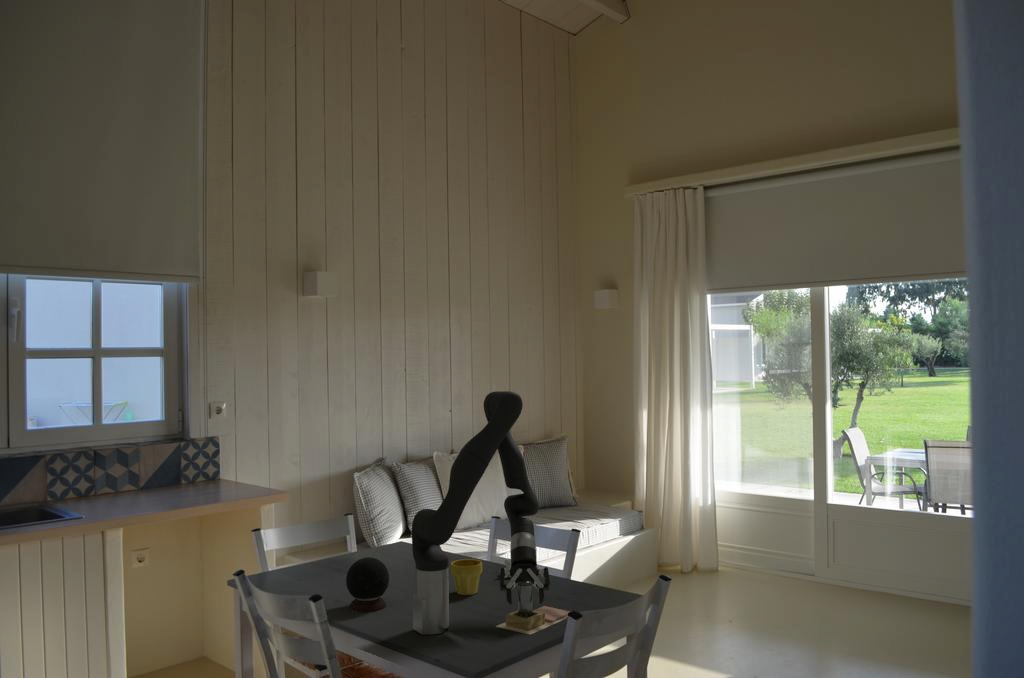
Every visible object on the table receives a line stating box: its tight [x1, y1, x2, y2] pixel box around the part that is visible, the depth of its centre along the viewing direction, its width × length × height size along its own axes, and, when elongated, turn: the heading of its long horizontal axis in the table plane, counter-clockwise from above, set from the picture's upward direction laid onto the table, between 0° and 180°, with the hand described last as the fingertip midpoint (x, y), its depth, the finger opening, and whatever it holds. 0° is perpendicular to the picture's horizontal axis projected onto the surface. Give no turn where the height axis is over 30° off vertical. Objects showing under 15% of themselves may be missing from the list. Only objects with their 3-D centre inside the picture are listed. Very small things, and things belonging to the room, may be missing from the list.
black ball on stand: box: [345, 556, 390, 613], centre depth 249 cm, size 13×13×15 cm
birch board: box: [495, 605, 571, 635], centre depth 230 cm, size 23×12×4 cm, turn 142°
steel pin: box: [517, 580, 533, 618], centre depth 225 cm, size 4×4×12 cm
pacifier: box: [503, 558, 512, 579], centre depth 284 cm, size 7×6×6 cm
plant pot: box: [450, 558, 483, 596], centre depth 263 cm, size 10×10×10 cm
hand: (525, 602), depth 224 cm, fingers open, 8 cm apart
